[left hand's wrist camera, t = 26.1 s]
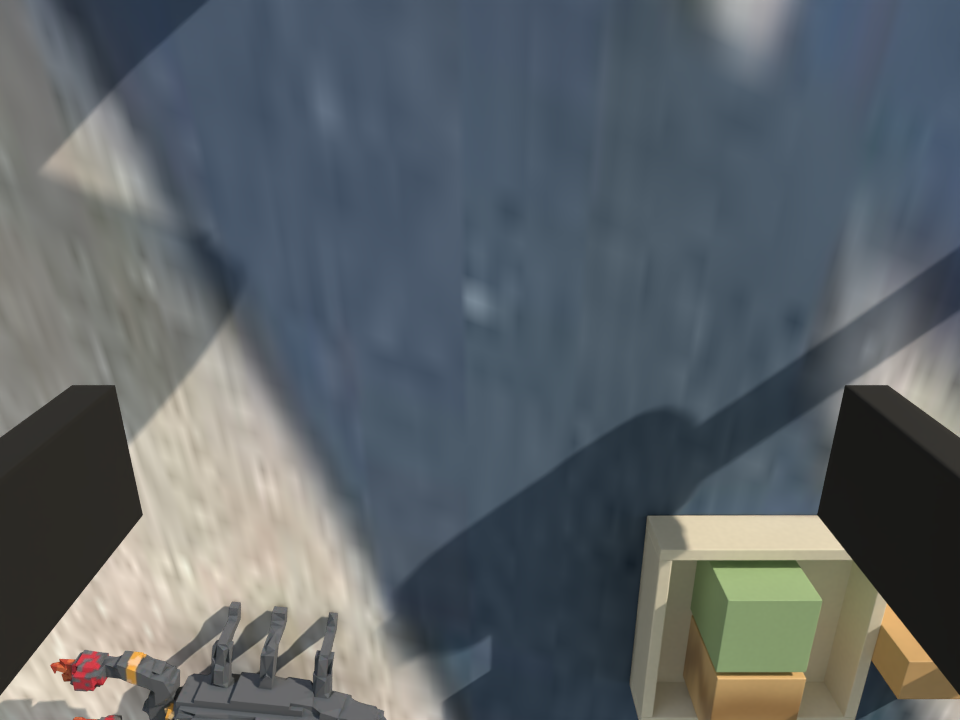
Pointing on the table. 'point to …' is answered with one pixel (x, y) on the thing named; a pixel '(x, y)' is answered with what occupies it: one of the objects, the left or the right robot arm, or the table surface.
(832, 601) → the tray
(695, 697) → the beech block
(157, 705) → the toy
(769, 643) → the green block
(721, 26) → the table surface
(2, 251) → the table surface
